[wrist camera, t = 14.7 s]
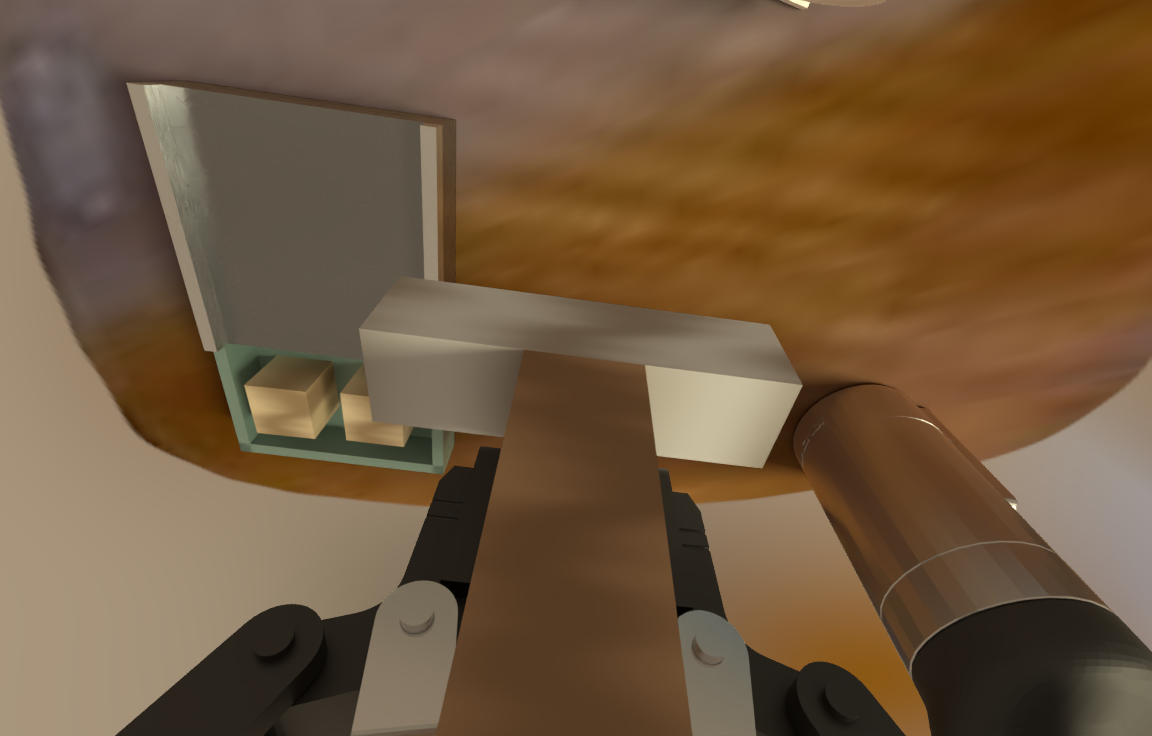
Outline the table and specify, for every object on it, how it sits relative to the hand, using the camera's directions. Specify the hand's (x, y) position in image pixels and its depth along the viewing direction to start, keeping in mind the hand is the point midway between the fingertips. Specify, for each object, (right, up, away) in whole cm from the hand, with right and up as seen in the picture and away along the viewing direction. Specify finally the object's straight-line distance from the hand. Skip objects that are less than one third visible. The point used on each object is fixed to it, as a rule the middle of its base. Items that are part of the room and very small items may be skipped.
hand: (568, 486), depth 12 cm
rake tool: (0, +4, +4) cm, 5 cm away
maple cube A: (-13, +2, +23) cm, 27 cm away
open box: (-15, +12, +20) cm, 28 cm away
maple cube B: (-20, +3, +23) cm, 30 cm away
